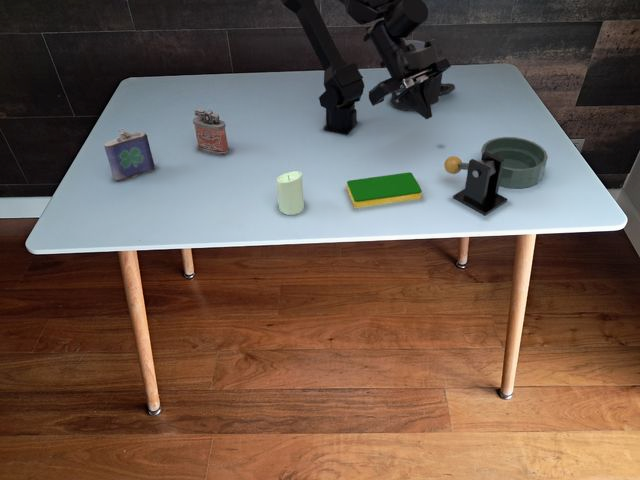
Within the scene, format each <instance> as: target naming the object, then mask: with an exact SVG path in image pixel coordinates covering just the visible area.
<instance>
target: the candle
mask: <svg viewBox="0 0 640 480" xmlns="http://www.w3.org/2000/svg"><path fill="white" fill-rule="evenodd" d="M303 183H304V182H303V174H302V172H301V171H289V172H285V173H283V174H281V175H279V176H278V177H277V178H276V189H277V190H276V191H277V198H278V199H277V201H278V208H279V209H278V210H279V211H280V213H282V214H284V215H288V216H294V215H298V214H300V213H302V212H303V211H304V209H305V201H304V186H303V185H304V184H303Z"/></svg>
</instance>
